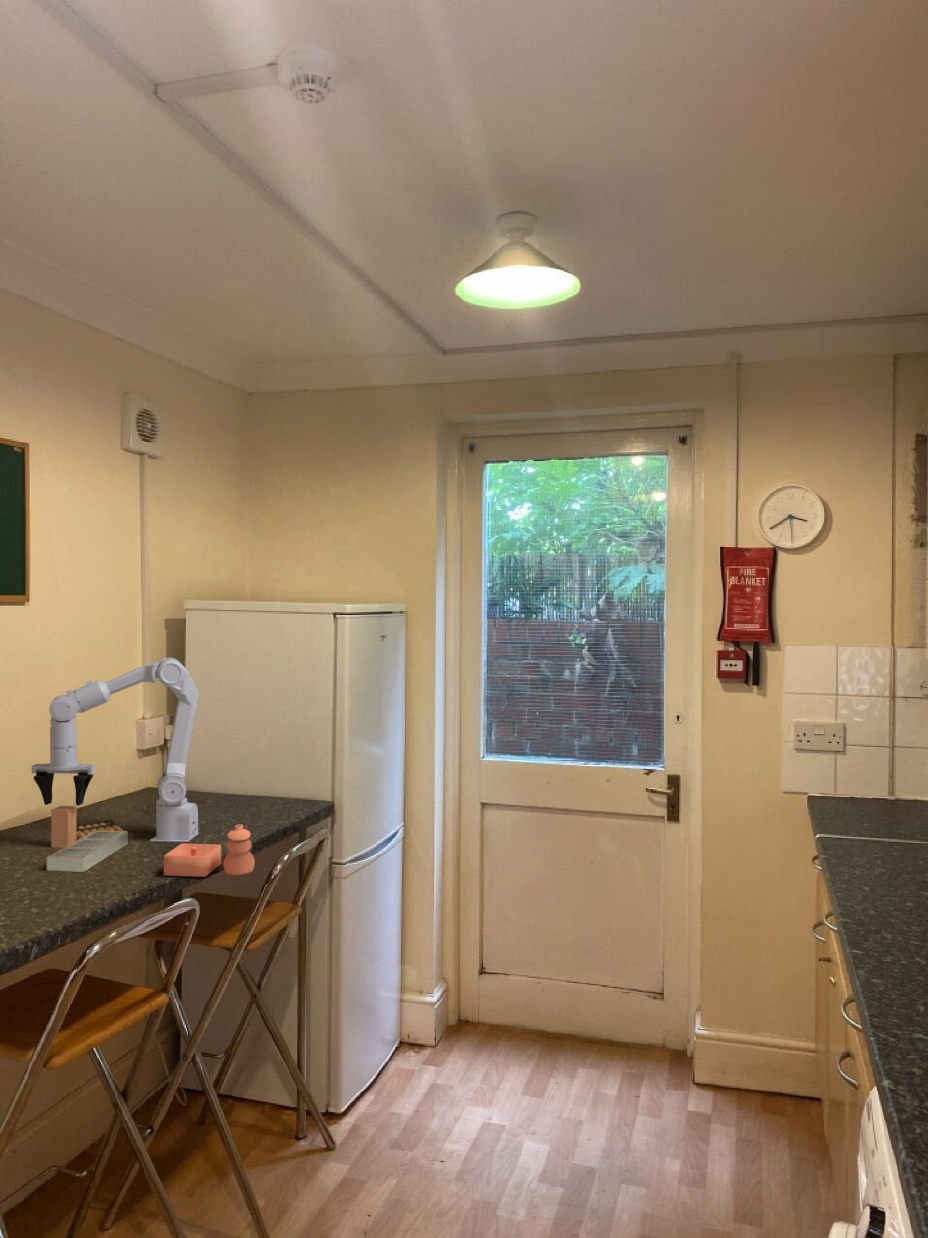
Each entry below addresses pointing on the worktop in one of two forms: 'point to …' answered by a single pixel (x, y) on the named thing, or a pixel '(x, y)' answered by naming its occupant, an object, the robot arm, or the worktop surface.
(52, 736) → the robot arm
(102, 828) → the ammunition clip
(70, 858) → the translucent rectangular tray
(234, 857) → the pottery
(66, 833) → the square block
